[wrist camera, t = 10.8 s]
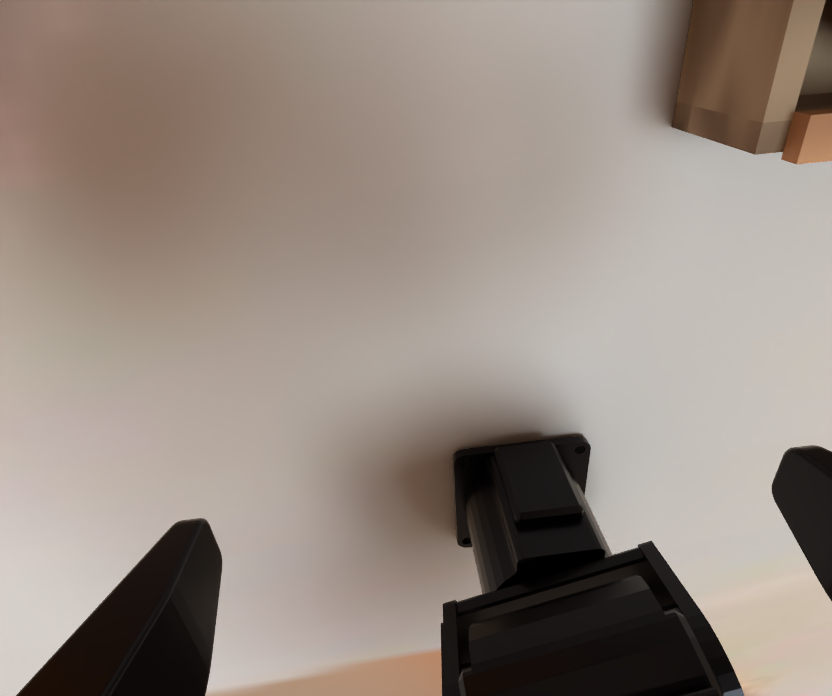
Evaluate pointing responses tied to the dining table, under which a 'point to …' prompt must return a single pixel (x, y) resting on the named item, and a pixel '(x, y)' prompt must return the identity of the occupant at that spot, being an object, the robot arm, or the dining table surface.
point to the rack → (759, 77)
